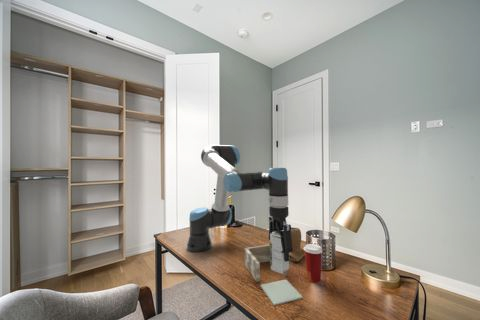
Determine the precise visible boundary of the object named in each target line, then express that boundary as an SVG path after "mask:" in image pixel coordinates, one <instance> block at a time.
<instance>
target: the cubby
mask: <svg viewBox="0 0 480 320" xmlns="http://www.w3.org/2000/svg"><path fill="white" fill-rule="evenodd" d="M243 256H244V257H243V259H244V260H243V261H244V262H243V264H244V266H245V267H246V269H247V270H248V272H249V273H250V275H251V276H252V278H253V279H254V281H255V282H256V283H259V282H260V281H261V275H260V273H261V272H260V271H261V269H260V268H261V265H260V264H261V263H267V262H270V244H263V245H258V246H251V247H244V249H243ZM282 276H284V277H288V270H287V271H286V272H285V273H284V274H282Z"/></svg>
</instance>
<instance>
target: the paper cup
mask: <svg viewBox="0 0 480 320" xmlns="http://www.w3.org/2000/svg"><path fill="white" fill-rule="evenodd" d="M303 250H305V255H304V260H305V268H306V269H305V270H306V279H307V280H308V281H309V282H311V283H315V284H317V283H320V282H321V279H322V258H323V257H322V256H323V255H322V254H323V249H322V247H321V246H320V245H319V244H315V243H307V244H305V245H304V247H303Z"/></svg>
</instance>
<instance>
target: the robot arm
mask: <svg viewBox="0 0 480 320" xmlns="http://www.w3.org/2000/svg"><path fill="white" fill-rule="evenodd" d="M200 158H201V161H202V163H203V165H204V166H206V167H207V168H210V169H212V170H213V171H214V172H215V174H216V175H217V179H216V188H215V193H214V194H215V196H214V203H212V204H211V209H209V207H198V208H195V209H193V210H192V209H191V211H190V213H189V236H188V241H187V243H186V249H187V250H188V251H189V252H192V253H199V252H200V253H201V252H205V251H208V250H210V249H211V248H212V246H213V245H212V244H213V243H212V242H213V241H212V238H211V237H210V230H209V229H213V228H218V227H224V226H228V225H229V224H230V223H231V221H232V219H233V214H232V212H233V211H232V209H231V208H230V206H229V205H228V204H229V198H230V197H229V196H230V193H237V192H238V193H239V192H244V191H255V190H268V202H269V204H268V205H269V217H268V240H269V241H270V233H272V232H274V231H278V233H279V234H280V236H281V245H282V250H283V251H281V254H282V270H285V269H288V270H289V269H290V268H289V253H290V252H293V249H292V239H291V227H292V225H291V224H288V223H287V219H286V218H288V217H289V213H290V212H289V207H288V206H289V184H288V183H289V176H288V169H287V167H269V168H268V172H267V171H255V172H253V171H252V172H241V171H239V169H237V168H236V165H238V164H240V160H241V153H240V151H239V148H238V147H237V146H236V145H229V144H210V145H207V146H206V147H204V149H203V150H202V152H201V154H200ZM281 230H282V231H281ZM282 236H283V237H282Z"/></svg>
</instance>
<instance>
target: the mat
mask: <svg viewBox="0 0 480 320" xmlns="http://www.w3.org/2000/svg"><path fill="white" fill-rule="evenodd" d="M260 288H261V289H262V290H263V292H264V293H265V295H266V296H267V297H268V299H269V300H270V302H271V303H272V304H273V306H277V305H280V304H285V303H288V302H292V301H296V300H300V299H303V295H302V294H301V293H300V292H298V290H297V289H296V288H295V287H294V286H293V285H292V284H291V282H289V281H288V279H281V280H277V281H273V282H268V283H262V284H260Z"/></svg>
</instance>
